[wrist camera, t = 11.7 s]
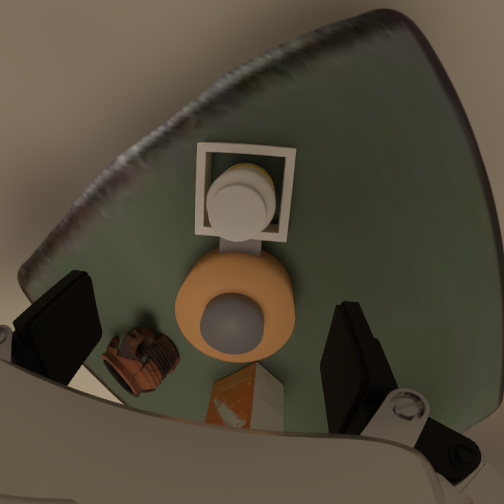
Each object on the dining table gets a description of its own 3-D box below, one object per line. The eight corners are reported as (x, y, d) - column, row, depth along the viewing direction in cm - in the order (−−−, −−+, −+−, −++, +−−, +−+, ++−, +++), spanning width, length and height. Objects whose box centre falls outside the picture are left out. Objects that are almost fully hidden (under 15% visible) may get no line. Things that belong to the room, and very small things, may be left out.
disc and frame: (311, 149, 27) (323, 154, 20) (285, 339, 35) (286, 379, 29) (188, 141, 27) (163, 143, 21) (189, 328, 36) (174, 366, 29)
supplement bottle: (237, 224, 30) (222, 264, 21) (210, 178, 29) (181, 199, 20) (284, 199, 29) (290, 230, 20) (258, 151, 27) (251, 159, 18)
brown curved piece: (184, 376, 40) (146, 412, 34) (141, 340, 44) (103, 370, 38) (182, 329, 33) (131, 373, 27) (130, 288, 36) (81, 322, 30)
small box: (256, 359, 37) (249, 442, 25) (284, 384, 39) (285, 462, 27) (212, 382, 39) (195, 457, 27) (241, 404, 41) (231, 476, 29)
